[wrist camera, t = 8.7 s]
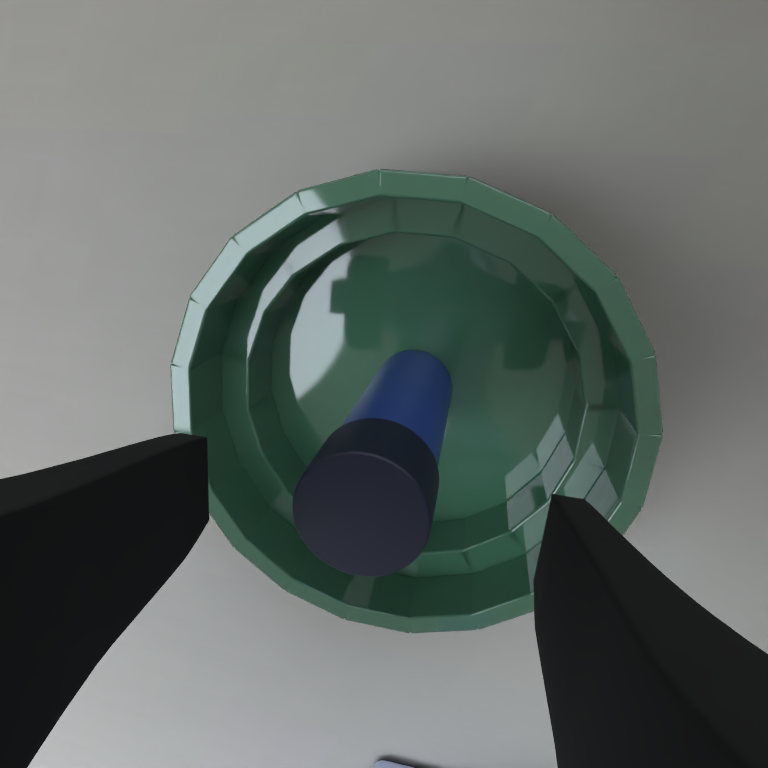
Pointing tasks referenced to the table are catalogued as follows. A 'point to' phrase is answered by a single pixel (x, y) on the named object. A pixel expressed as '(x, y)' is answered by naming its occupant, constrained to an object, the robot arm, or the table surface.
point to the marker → (379, 472)
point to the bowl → (449, 345)
